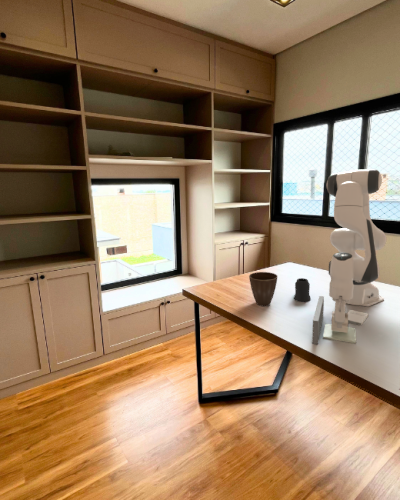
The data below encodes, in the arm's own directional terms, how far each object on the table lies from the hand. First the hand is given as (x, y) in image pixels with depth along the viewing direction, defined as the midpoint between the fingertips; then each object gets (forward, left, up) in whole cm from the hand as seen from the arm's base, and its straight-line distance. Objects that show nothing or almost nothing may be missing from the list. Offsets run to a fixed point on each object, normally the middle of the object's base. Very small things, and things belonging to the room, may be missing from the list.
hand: (339, 323), depth 121 cm
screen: (+4, -7, -5) cm, 10 cm away
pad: (0, 0, -5) cm, 5 cm away
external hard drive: (-17, -9, -5) cm, 20 cm away
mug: (-12, -40, -5) cm, 42 cm away
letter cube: (0, 0, -2) cm, 2 cm away
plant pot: (+11, -42, -5) cm, 44 cm away
